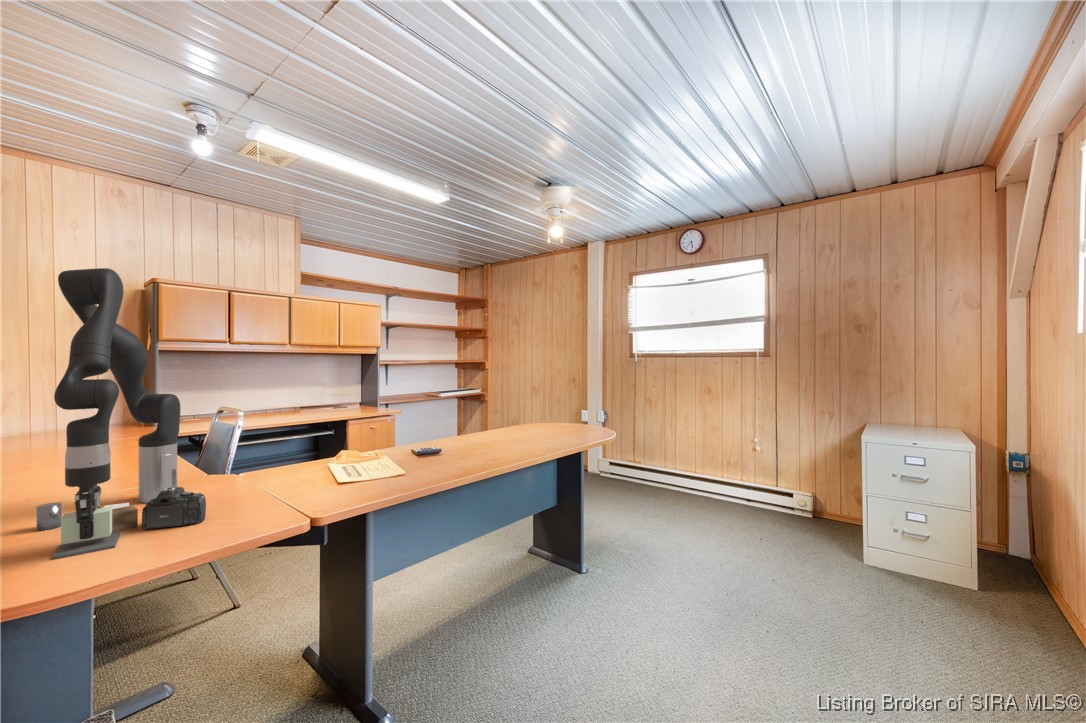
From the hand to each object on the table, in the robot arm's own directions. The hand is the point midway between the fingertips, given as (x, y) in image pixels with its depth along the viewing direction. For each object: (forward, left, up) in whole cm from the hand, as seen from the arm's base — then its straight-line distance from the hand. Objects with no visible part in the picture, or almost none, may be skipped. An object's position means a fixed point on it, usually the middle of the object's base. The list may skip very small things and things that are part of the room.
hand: (88, 534), depth 105 cm
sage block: (0, 0, -1) cm, 1 cm away
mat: (0, 0, -3) cm, 3 cm away
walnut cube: (-5, -10, -3) cm, 12 cm away
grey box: (-3, -19, -3) cm, 19 cm away
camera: (-16, -6, -3) cm, 17 cm away
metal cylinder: (+10, -22, -3) cm, 24 cm away
